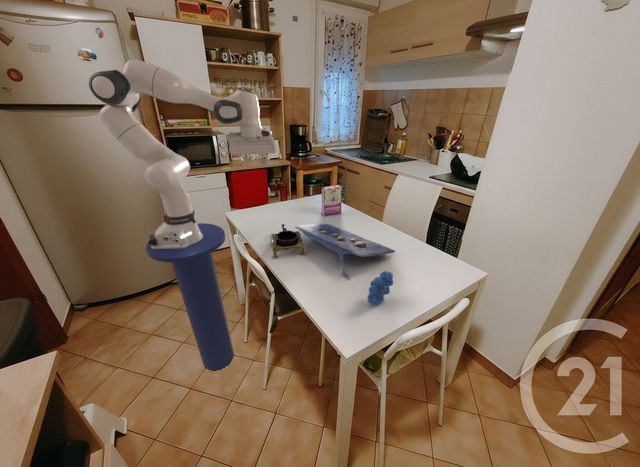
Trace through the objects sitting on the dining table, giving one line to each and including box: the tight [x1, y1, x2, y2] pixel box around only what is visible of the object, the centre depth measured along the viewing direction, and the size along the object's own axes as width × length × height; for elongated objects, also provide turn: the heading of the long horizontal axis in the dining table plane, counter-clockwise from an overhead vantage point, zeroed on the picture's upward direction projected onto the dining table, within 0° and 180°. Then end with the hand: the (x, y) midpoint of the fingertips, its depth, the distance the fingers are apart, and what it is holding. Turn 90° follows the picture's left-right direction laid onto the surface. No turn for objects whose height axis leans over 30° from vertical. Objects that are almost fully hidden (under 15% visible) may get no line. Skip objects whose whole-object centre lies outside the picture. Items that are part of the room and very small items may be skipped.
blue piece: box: [294, 223, 396, 279], centre depth 122 cm, size 45×27×12 cm, turn 42°
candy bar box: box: [321, 184, 343, 217], centre depth 155 cm, size 11×5×16 cm, turn 113°
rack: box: [269, 230, 306, 259], centre depth 121 cm, size 14×14×5 cm
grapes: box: [366, 270, 394, 306], centre depth 89 cm, size 12×7×12 cm, turn 129°
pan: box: [275, 223, 299, 247], centre depth 123 cm, size 10×19×3 cm, turn 14°
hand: (254, 163), depth 120 cm, fingers open, 8 cm apart
